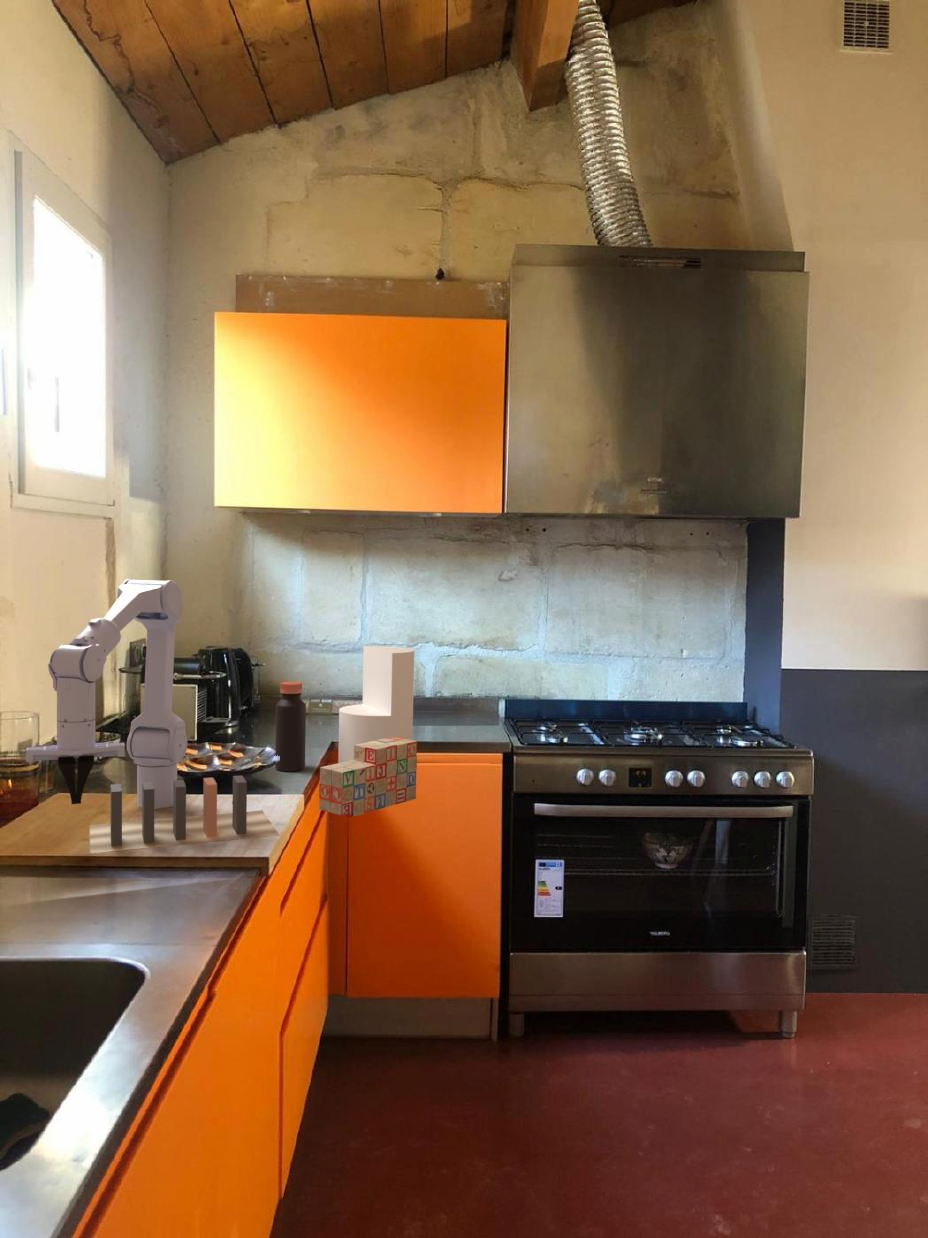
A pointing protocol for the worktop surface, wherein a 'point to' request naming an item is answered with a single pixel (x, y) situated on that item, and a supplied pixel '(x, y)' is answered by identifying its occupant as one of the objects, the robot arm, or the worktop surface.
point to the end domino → (239, 804)
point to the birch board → (165, 837)
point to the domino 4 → (210, 807)
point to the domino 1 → (116, 815)
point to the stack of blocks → (370, 778)
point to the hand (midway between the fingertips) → (76, 802)
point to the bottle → (290, 728)
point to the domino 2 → (148, 812)
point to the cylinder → (380, 700)
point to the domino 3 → (179, 809)
